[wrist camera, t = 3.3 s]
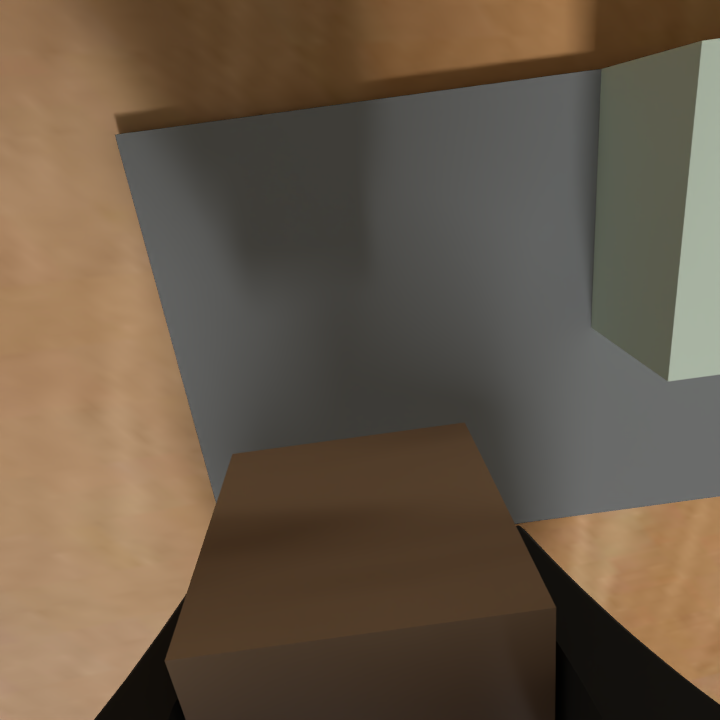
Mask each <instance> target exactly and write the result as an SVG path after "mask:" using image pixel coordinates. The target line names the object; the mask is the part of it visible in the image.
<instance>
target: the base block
mask: <svg viewBox="0 0 720 720" xmlns="http://www.w3.org/2000/svg"><path fill="white" fill-rule="evenodd" d="M591 328H592V329H594V330H595V331H597V332H598V333H600V334H601V335H602V336H604V337H605V338H607V339H608V340H610V341H611V342H612V343H614V344H615V345H617V346H618V347H619V348H621V349H622V350H624V351H625V352H627V353H628V354H629V355H631V356H632V357H634V358H635V359H637V360H638V361H639V362H641V363H642V364H644V365H645V366H646V367H648V368H649V369H651V370H652V371H654V372H655V373H656V374H658V375H659V376H661V377H662V378H664V379H665V380H666V381H676V380H683V379H690V378H698V377H705V376H713V375H720V38H719V39H711V40H704V41H699V42H696V43H692V44H689V45H685V46H682V47H678V48H674V49H671V50H667V51H664V52H660V53H657V54H653V55H649V56H646V57H642V58H639V59H635V60H632V61H628V62H624V63H621V64H617V65H614V66H610V67H607V68H603V69H601V93H600V118H599V144H598V169H597V194H596V220H595V245H594V270H593V296H592V321H591Z"/></svg>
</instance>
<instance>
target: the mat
mask: <svg viewBox="0 0 720 720" xmlns="http://www.w3.org/2000/svg"><path fill="white" fill-rule="evenodd" d="M600 93H601V69H597V70H590V71H582V72H575V73H568V74H560V75H553V76H545V77H538V78H531V79H523V80H516V81H509V82H501V83H494V84H486V85H479V86H472V87H464V88H457V89H449V90H442V91H435V92H427V93H420V94H413V95H405V96H398V97H390V98H383V99H376V100H368V101H361V102H353V103H346V104H339V105H331V106H324V107H317V108H309V109H302V110H294V111H287V112H280V113H272V114H265V115H257V116H250V117H243V118H235V119H228V120H220V121H213V122H206V123H198V124H191V125H184V126H176V127H169V128H161V129H154V130H147V131H139V132H132V133H124V134H117V135H115V137H116V140H117V144H118V148H119V151H120V155H121V158H122V162H123V166H124V169H125V173H126V177H127V180H128V184H129V188H130V191H131V195H132V199H133V202H134V206H135V209H136V213H137V217H138V220H139V224H140V228H141V231H142V235H143V239H144V242H145V246H146V249H147V253H148V257H149V260H150V264H151V268H152V271H153V275H154V279H155V282H156V286H157V290H158V293H159V297H160V300H161V304H162V308H163V311H164V315H165V319H166V322H167V326H168V330H169V333H170V337H171V340H172V344H173V348H174V351H175V355H176V359H177V362H178V366H179V370H180V373H181V377H182V381H183V384H184V388H185V391H186V395H187V399H188V402H189V406H190V410H191V413H192V417H193V421H194V424H195V428H196V432H197V435H198V439H199V442H200V446H201V450H202V453H203V457H204V461H205V464H206V468H207V472H208V475H209V479H210V482H211V486H212V490H213V493H214V497H215V501H216V503H217V500H218V497H219V494H220V491H221V487H222V484H223V481H224V478H225V475H226V472H227V469H228V466H229V463H230V460H231V457H232V454H236V453H243V452H251V451H258V450H266V449H273V448H280V447H288V446H295V445H302V444H310V443H317V442H324V441H332V440H339V439H346V438H354V437H361V436H369V435H376V434H383V433H391V432H398V431H405V430H413V429H420V428H427V427H435V426H442V425H449V424H457V423H464V422H465V424H466V426H467V428H468V430H469V432H470V434H471V436H472V438H473V440H474V442H475V444H476V446H477V448H478V450H479V452H480V454H481V456H482V458H483V460H484V462H485V464H486V466H487V468H488V470H489V472H490V475H491V477H492V479H493V481H494V483H495V485H496V487H497V489H498V491H499V493H500V495H501V497H502V499H503V501H504V503H505V505H506V507H507V509H508V511H509V513H510V515H511V517H512V519H513V521H514V523H515V524H518V523H525V522H533V521H540V520H548V519H555V518H562V517H570V516H577V515H585V514H592V513H599V512H607V511H614V510H621V509H629V508H636V507H644V506H651V505H658V504H666V503H673V502H681V501H688V500H695V499H703V498H710V497H717V496H720V375H713V376H705V377H698V378H690V379H683V380H676V381H666V380H665V379H664V378H662V377H661V376H659V375H658V374H656V373H655V372H654V371H652V370H651V369H649V368H648V367H646V366H645V365H644V364H642V363H641V362H639V361H638V360H637V359H635V358H634V357H632V356H631V355H629V354H628V353H627V352H625V351H624V350H622V349H621V348H619V347H618V346H617V345H615V344H614V343H612V342H611V341H610V340H608V339H607V338H605V337H604V336H602V335H601V334H600V333H598V332H597V331H595V330H594V329H592V328H591V321H592V296H593V270H594V245H595V220H596V194H597V169H598V144H599V118H600Z"/></svg>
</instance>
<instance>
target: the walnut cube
mask: <svg viewBox="0 0 720 720" xmlns="http://www.w3.org/2000/svg"><path fill="white" fill-rule="evenodd" d="M165 663H166V666H167V669H168V672H169V674H170V677H171V680H172V683H173V686H174V688H175V691H176V694H177V697H178V700H179V702H180V705H181V708H182V711H183V714H184V716H185V719H186V720H555V674H556V606H555V604H554V602H553V600H552V598H551V596H550V594H549V592H548V590H547V588H546V586H545V584H544V582H543V580H542V578H541V576H540V574H539V572H538V570H537V568H536V566H535V564H534V562H533V560H532V558H531V556H530V554H529V552H528V549H527V547H526V545H525V543H524V541H523V539H522V537H521V535H520V533H519V531H518V529H517V527H516V525H515V523H514V521H513V519H512V517H511V515H510V513H509V511H508V509H507V507H506V505H505V503H504V501H503V499H502V497H501V495H500V493H499V491H498V489H497V487H496V485H495V483H494V481H493V479H492V477H491V475H490V472H489V470H488V468H487V466H486V464H485V462H484V460H483V458H482V456H481V454H480V452H479V450H478V448H477V446H476V444H475V442H474V440H473V438H472V436H471V434H470V432H469V430H468V428H467V426H466V424H465V422H464V423H457V424H449V425H442V426H435V427H427V428H420V429H413V430H405V431H398V432H391V433H383V434H376V435H369V436H361V437H354V438H346V439H339V440H332V441H324V442H317V443H310V444H302V445H295V446H288V447H280V448H273V449H266V450H258V451H251V452H243V453H236V454H232V457H231V460H230V463H229V466H228V469H227V472H226V475H225V478H224V481H223V484H222V487H221V491H220V494H219V497H218V500H217V503H216V506H215V509H214V512H213V515H212V518H211V521H210V524H209V527H208V530H207V533H206V536H205V539H204V542H203V545H202V548H201V552H200V555H199V558H198V561H197V564H196V567H195V570H194V573H193V576H192V579H191V582H190V585H189V588H188V591H187V594H186V597H185V600H184V603H183V606H182V609H181V613H180V616H179V619H178V622H177V625H176V628H175V631H174V634H173V637H172V640H171V643H170V646H169V649H168V652H167V655H166V658H165Z"/></svg>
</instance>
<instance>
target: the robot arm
mask: <svg viewBox="0 0 720 720" xmlns="http://www.w3.org/2000/svg"><path fill="white" fill-rule="evenodd" d="M516 527H517V529H518V531H519V533H520V535H521V537H522V539H523V541H524V543H525V545H526V547H527V549H528V552H529V554H530V556H531V558H532V560H533V562H534V564H535V566H536V568H537V570H538V572H539V574H540V576H541V578H542V580H543V582H544V584H545V586H546V588H547V590H548V592H549V594H550V596H551V598H552V600H553V602H554V604H555V606H556V674H555V720H720V704H718V703H717V702H716V701H714V700H713V699H712V698H710V697H709V696H708V695H706V694H705V693H704V692H702V691H701V690H699V689H698V688H697V687H696V686H694V685H693V684H692V683H690V682H689V681H688V680H687V679H685V678H684V677H683V676H682V675H680V674H679V673H678V672H677V671H675V670H674V669H673V668H672V667H670V666H669V665H668V664H667V663H665V662H664V661H663V660H662V659H661V658H659V657H658V656H657V655H656V654H655V653H653V652H652V651H651V650H650V649H649V648H648V647H646V646H645V645H644V644H643V643H642V642H640V641H639V640H638V639H637V638H636V637H635V636H633V635H632V634H631V633H630V632H629V631H628V630H627V629H625V628H624V627H623V626H622V625H621V624H620V623H619V622H618V621H616V620H615V619H614V618H613V617H612V616H611V615H610V614H609V613H608V612H607V611H606V610H604V609H603V608H602V607H601V606H600V605H599V604H598V603H597V602H596V601H595V600H594V599H593V598H592V597H590V596H589V595H588V594H587V593H586V592H585V591H584V590H583V589H582V588H581V587H580V586H579V585H578V584H577V583H576V582H575V581H574V580H573V579H572V578H571V577H570V576H569V575H568V574H567V573H566V572H565V571H564V570H563V569H562V568H561V567H560V566H559V565H558V564H557V563H556V562H555V561H554V560H553V559H552V558H551V557H550V556H549V555H548V554H547V553H546V552H545V551H544V550H543V549H542V548H541V547H540V546H539V545H538V544H537V543H536V541H535V540H534V539H533V538H532V537H531V536H530V535H529V534H528V533H527V532H526V531H525V530H524V529H523V528H522V527H520V526H516ZM185 597H186V595H185ZM185 597H184V598H183V600H182V601H181V603H180V604H179V606H178V607H177V608H176V610H175V611H174V613H173V614H172V616H171V617H170V619H169V620H168V621H167V623H166V624H165V626H164V627H163V629H162V630H161V631H160V633H159V634H158V636H157V637H156V639H155V640H154V641H153V643H152V644H151V645H150V647H149V648H148V650H147V651H146V652H145V654H144V655H143V656H142V658H141V659H140V661H139V662H138V663H137V665H136V666H135V667H134V669H133V670H132V672H131V673H130V674H129V676H128V677H127V678H126V680H125V681H124V682H123V684H122V685H121V686H120V687H119V689H118V690H117V691H116V693H115V694H114V695H113V696H112V698H111V699H110V700H109V701H108V703H107V704H106V705H105V706H104V708H103V709H102V710H101V712H100V713H99V714H98V715H97V717H96V718H95V719H94V720H186V719H185V716H184V714H183V711H182V708H181V705H180V702H179V700H178V697H177V694H176V691H175V688H174V686H173V683H172V680H171V677H170V674H169V672H168V669H167V666H166V663H165V658H166V655H167V652H168V649H169V646H170V643H171V640H172V637H173V634H174V631H175V628H176V625H177V622H178V619H179V616H180V613H181V609H182V606H183V603H184V600H185Z"/></svg>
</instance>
